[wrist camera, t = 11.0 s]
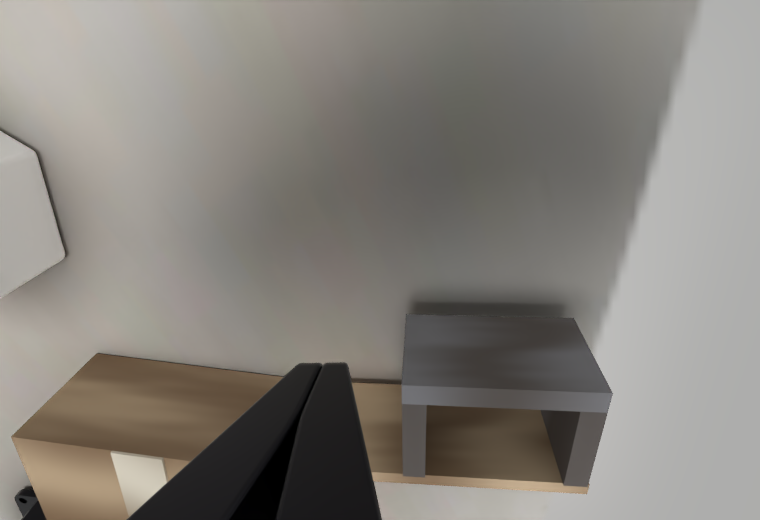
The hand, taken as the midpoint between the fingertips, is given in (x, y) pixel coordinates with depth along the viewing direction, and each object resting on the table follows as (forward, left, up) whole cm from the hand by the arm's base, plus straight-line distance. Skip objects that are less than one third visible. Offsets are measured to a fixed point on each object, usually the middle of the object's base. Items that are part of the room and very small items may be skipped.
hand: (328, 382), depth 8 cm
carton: (-15, +8, -10) cm, 20 cm away
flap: (-7, -3, -10) cm, 12 cm away
